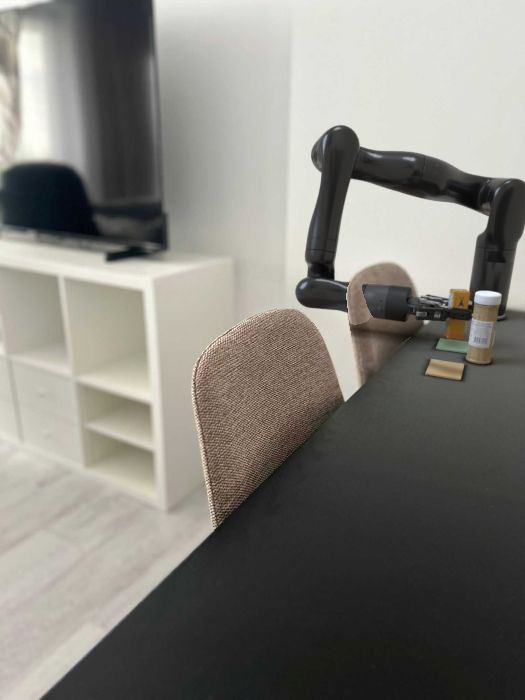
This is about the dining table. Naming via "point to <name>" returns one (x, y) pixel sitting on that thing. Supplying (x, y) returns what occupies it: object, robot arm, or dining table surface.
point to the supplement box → (454, 326)
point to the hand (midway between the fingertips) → (471, 312)
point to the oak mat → (445, 369)
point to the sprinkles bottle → (483, 326)
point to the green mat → (452, 345)
